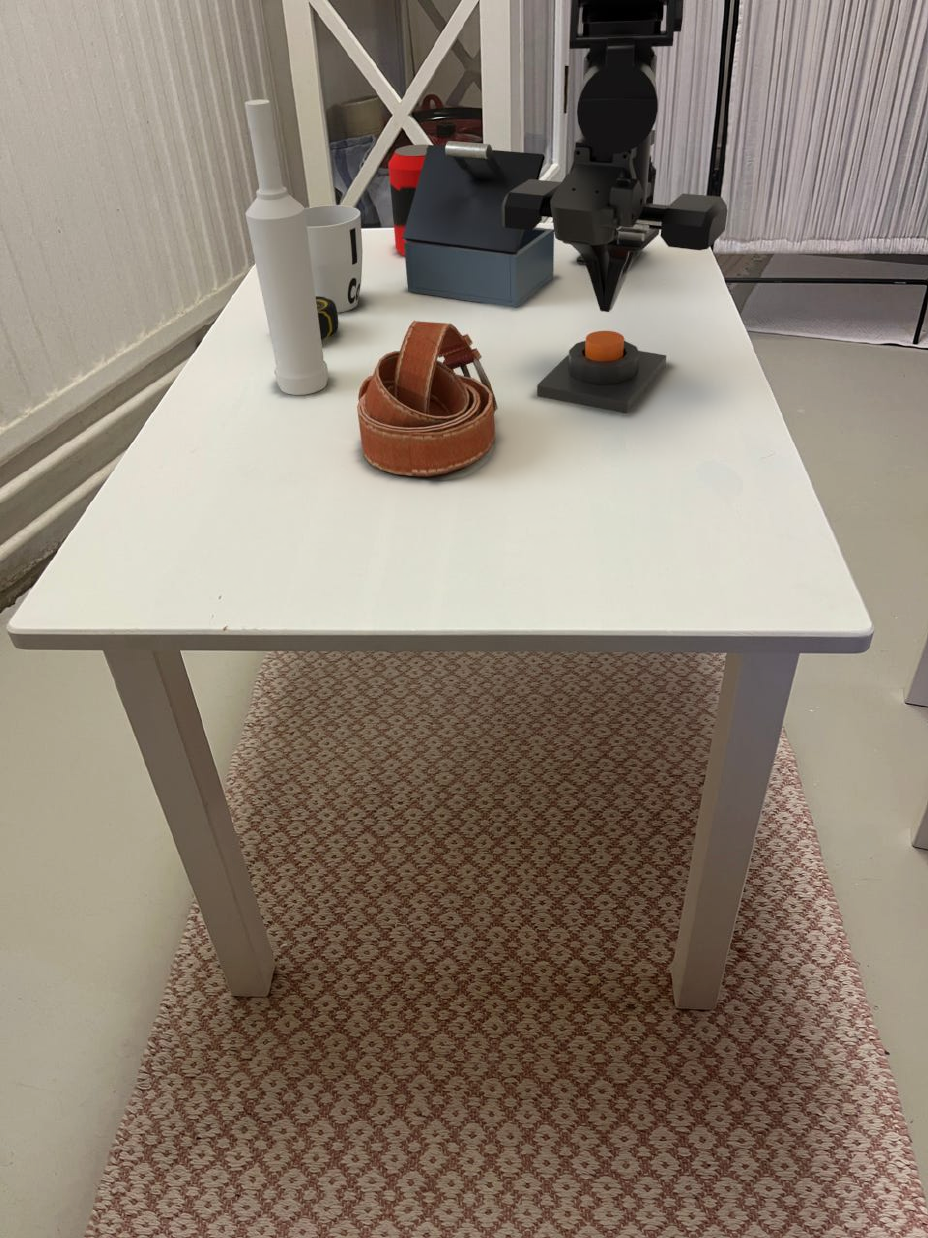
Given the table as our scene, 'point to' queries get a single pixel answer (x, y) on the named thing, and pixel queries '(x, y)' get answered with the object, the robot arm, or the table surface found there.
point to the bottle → (284, 265)
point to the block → (602, 378)
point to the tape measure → (327, 317)
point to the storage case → (482, 270)
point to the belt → (427, 405)
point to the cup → (336, 253)
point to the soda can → (404, 186)
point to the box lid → (468, 196)
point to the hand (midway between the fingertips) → (606, 310)
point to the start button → (604, 346)
